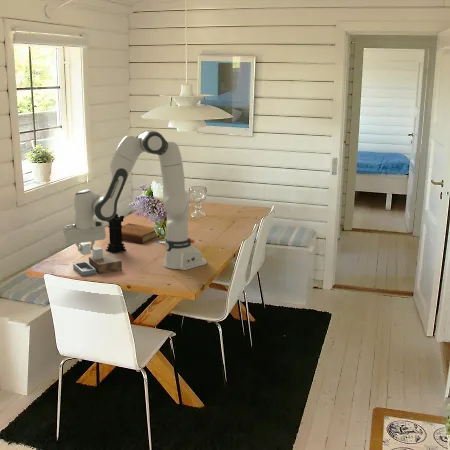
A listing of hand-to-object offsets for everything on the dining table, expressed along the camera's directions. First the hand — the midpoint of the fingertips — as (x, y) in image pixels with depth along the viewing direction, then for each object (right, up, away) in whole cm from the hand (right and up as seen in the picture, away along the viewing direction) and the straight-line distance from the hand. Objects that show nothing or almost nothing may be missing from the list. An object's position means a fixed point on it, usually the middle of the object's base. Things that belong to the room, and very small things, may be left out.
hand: (85, 250), depth 289 cm
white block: (+4, -4, +11) cm, 12 cm away
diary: (+15, +4, +65) cm, 67 cm away
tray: (-2, -11, +6) cm, 12 cm away
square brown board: (+8, -10, +10) cm, 16 cm away
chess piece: (+8, -2, +39) cm, 40 cm away
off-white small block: (0, -2, 0) cm, 2 cm away
